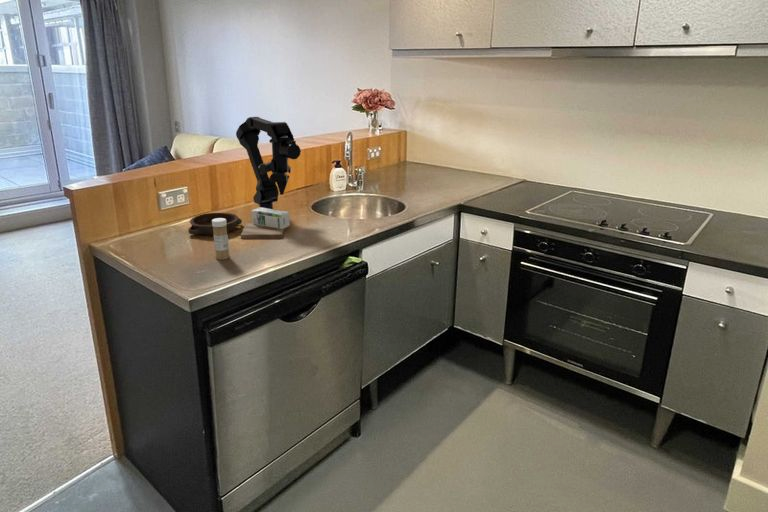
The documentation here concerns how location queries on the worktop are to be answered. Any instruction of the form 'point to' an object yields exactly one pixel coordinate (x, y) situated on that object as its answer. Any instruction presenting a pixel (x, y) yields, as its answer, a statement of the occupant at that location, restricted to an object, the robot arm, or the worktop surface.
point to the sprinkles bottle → (220, 238)
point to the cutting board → (261, 231)
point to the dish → (204, 223)
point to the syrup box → (270, 218)
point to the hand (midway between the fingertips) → (281, 194)
